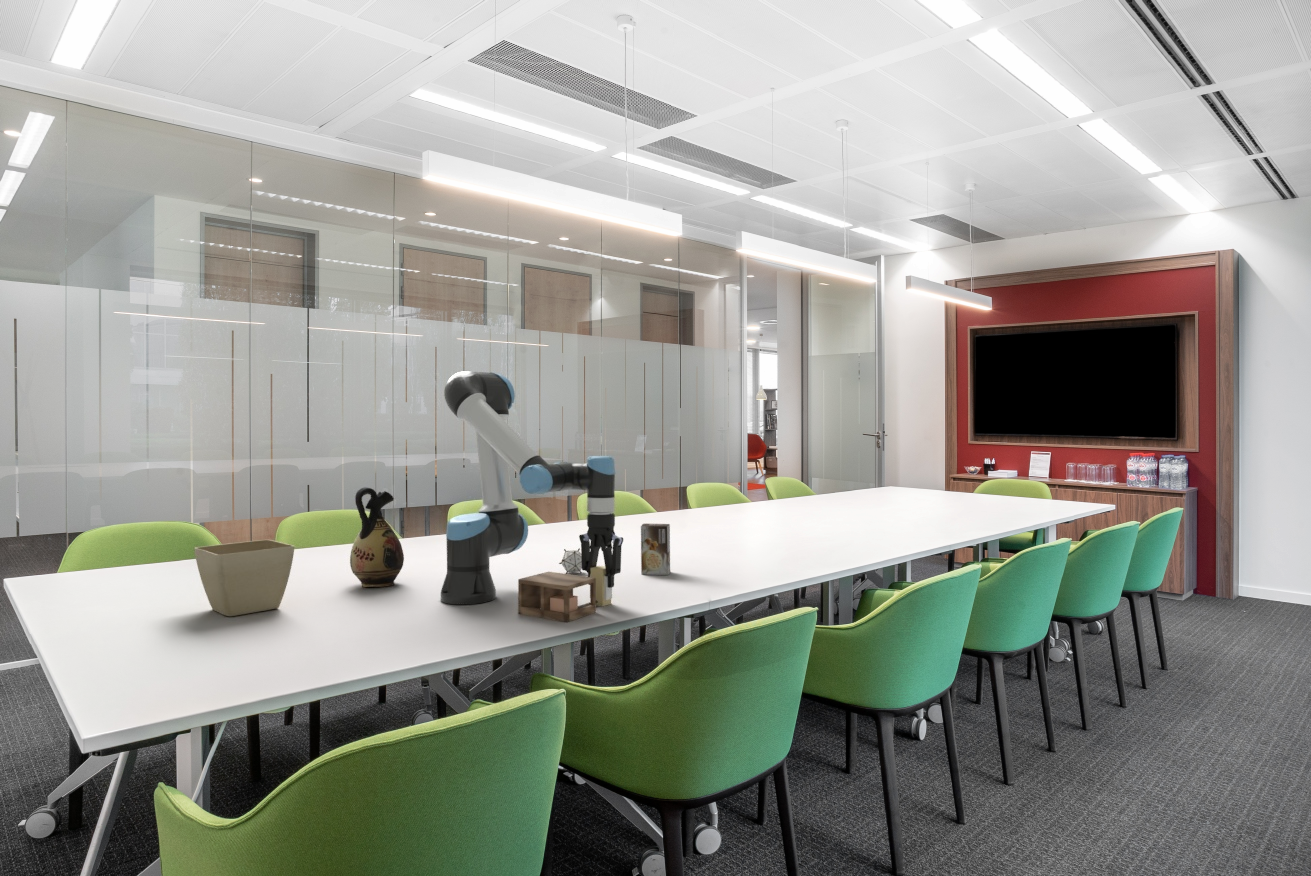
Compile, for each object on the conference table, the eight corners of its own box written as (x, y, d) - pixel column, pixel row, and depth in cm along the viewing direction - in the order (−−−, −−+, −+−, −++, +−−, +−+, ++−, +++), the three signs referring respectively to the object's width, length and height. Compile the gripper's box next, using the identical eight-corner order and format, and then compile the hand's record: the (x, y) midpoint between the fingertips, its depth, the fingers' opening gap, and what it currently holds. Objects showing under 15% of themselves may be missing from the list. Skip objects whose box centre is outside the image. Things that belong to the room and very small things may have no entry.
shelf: (548, 604, 210) (548, 571, 209) (595, 612, 201) (595, 577, 201) (518, 613, 199) (518, 579, 199) (566, 622, 191) (566, 586, 191)
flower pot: (193, 609, 204) (192, 546, 203) (268, 597, 217) (268, 538, 217) (218, 622, 191) (217, 554, 190) (296, 609, 205) (296, 545, 204)
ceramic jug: (383, 577, 245) (383, 484, 245) (414, 583, 236) (413, 486, 236) (334, 586, 232) (333, 487, 231) (364, 593, 223) (364, 490, 222)
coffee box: (671, 571, 256) (671, 523, 255) (668, 575, 249) (668, 526, 249) (643, 570, 257) (643, 523, 257) (640, 574, 251) (640, 525, 250)
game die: (576, 585, 252) (580, 564, 246) (553, 575, 253) (556, 554, 247) (588, 567, 259) (592, 547, 253) (565, 558, 260) (569, 537, 254)
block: (597, 601, 213) (597, 565, 213) (612, 603, 211) (612, 567, 210) (549, 617, 196) (549, 577, 196) (565, 619, 193) (565, 580, 193)
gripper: (634, 513, 208) (634, 599, 209) (584, 509, 218) (584, 591, 218) (618, 516, 202) (618, 604, 202) (567, 512, 211) (567, 596, 212)
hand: (601, 597), depth 210 cm, fingers closed on block, 4 cm apart
